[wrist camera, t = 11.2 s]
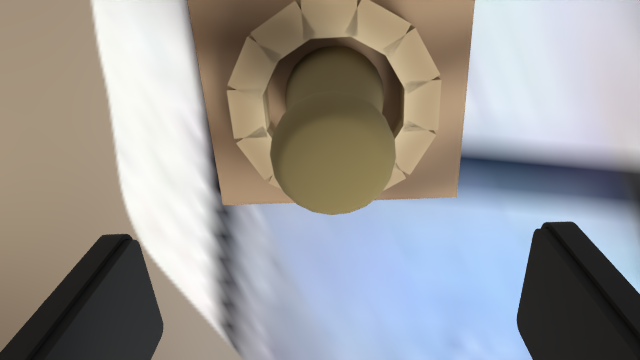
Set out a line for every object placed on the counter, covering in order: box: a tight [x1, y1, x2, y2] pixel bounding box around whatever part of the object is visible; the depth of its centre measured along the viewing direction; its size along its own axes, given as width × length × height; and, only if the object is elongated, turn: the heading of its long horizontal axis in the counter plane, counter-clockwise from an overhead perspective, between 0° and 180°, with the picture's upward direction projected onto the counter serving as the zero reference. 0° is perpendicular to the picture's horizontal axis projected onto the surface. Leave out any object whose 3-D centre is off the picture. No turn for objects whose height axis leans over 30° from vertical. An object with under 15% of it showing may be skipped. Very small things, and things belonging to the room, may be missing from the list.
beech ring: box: [227, 0, 441, 191], centre depth 25 cm, size 12×12×2 cm
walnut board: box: [187, 0, 475, 205], centre depth 26 cm, size 20×16×1 cm
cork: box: [270, 45, 396, 215], centre depth 21 cm, size 6×6×11 cm
